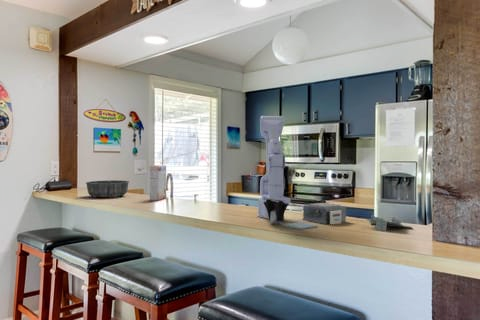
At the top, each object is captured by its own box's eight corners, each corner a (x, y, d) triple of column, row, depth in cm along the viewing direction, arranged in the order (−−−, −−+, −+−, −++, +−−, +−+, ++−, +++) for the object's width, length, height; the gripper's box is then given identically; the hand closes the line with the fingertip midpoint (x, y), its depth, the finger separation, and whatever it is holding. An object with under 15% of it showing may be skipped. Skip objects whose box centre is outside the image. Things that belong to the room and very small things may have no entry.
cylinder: (268, 223, 140) (268, 209, 140) (276, 222, 142) (276, 208, 142) (275, 225, 137) (275, 210, 137) (282, 224, 139) (283, 209, 139)
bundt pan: (98, 200, 216) (98, 183, 216) (78, 196, 233) (78, 181, 233) (136, 197, 235) (137, 181, 235) (116, 194, 253) (116, 179, 253)
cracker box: (157, 198, 228) (157, 165, 228) (166, 198, 227) (166, 165, 227) (148, 200, 214) (149, 165, 214) (158, 200, 213) (158, 165, 213)
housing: (302, 220, 149) (302, 204, 149) (323, 217, 156) (323, 202, 156) (324, 224, 139) (324, 207, 139) (345, 221, 147) (345, 205, 147)
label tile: (329, 224, 139) (329, 211, 139) (339, 223, 143) (340, 210, 143) (331, 224, 139) (331, 211, 139) (341, 223, 142) (341, 210, 142)
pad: (282, 225, 135) (282, 224, 135) (299, 223, 141) (299, 222, 141) (299, 229, 128) (299, 228, 128) (317, 227, 133) (317, 225, 133)
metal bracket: (403, 217, 123) (360, 212, 133) (402, 234, 122) (358, 228, 132) (413, 223, 134) (373, 219, 144) (412, 239, 133) (371, 234, 142)
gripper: (256, 184, 143) (255, 218, 143) (280, 186, 131) (280, 224, 131) (269, 183, 147) (269, 217, 147) (294, 186, 135) (294, 222, 135)
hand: (275, 220), depth 139 cm, fingers closed on cylinder, 4 cm apart
